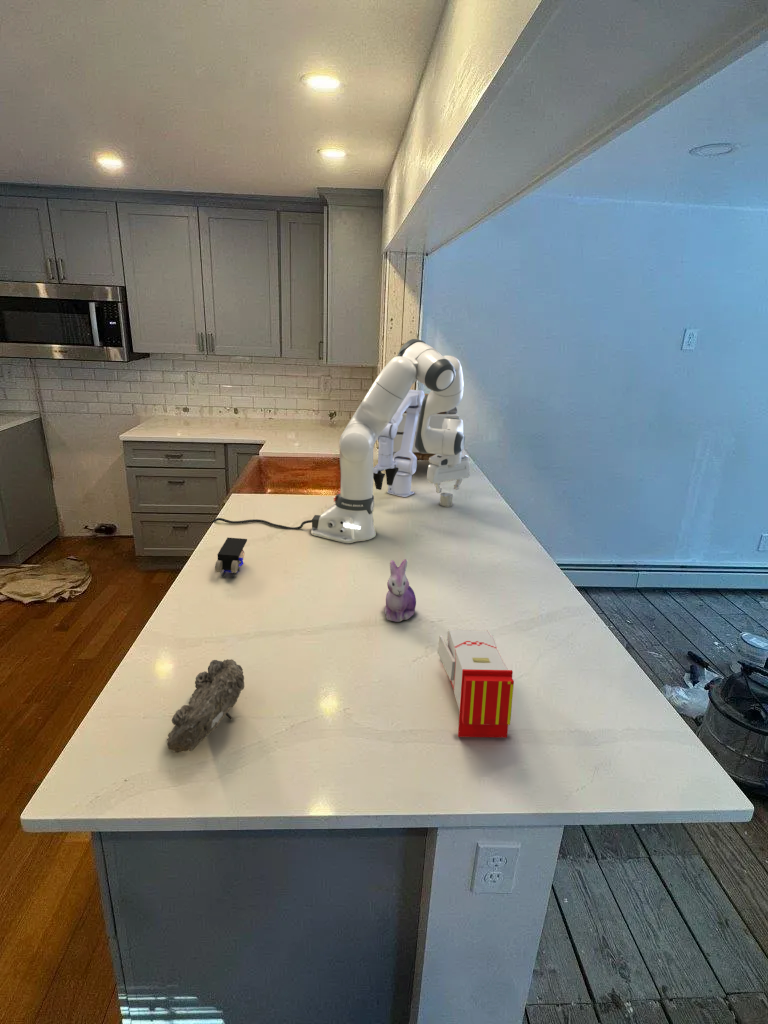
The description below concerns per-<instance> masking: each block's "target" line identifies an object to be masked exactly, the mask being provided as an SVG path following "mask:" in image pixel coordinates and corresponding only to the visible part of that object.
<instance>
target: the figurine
mask: <svg viewBox="0 0 768 1024" xmlns="http://www.w3.org/2000/svg"><path fill="white" fill-rule="evenodd" d="M407 567H408V559H406V558H404V559H403V560H402V561H401V563H400V565H399V566H398V565H397V563H396V562H395V561H394V560H393V559H391V560H390V561H389V570H390V576H389V578H388V579H387V589H388V591H387V592H386V594H385V595H386V596H385V607H384V615H385V616H386V620H387V621H391V622H395V623H400V622H402V621H406V620H409V619H410V618H411V617H413V616H414V615H415V610H416V606H417V597H416V593H415V591H414V590H413V587H411V586H410V582H409V579H408V577H407V574H406V571H407Z"/></svg>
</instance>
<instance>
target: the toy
mask: <svg viewBox="0 0 768 1024" xmlns="http://www.w3.org/2000/svg"><path fill="white" fill-rule="evenodd" d="M446 640H447V643H446V641H445V639H444V636H443V635H442V634H439V637H438V646H437V656H438V657H439V659H440V661H441V663H442V666H443V668H444V670H445V672H446V674H447V677H448V679H449V681H450V684H451V687H452V690H453V693H454V697H455V701H456V705H457V708H458V711H459V714H458V715H459V716H458V730H457V731H458V732H457V737H458V738H508V731H509V726H510V725H511V717H512V707H513V697H514V696H513V695H514V684H515V680H514V679H513V673H514V671H513V670H512V669H508V667H507V665H506V662H505V661H504V659H503V658H502V655H501V653H500V651H499V649H498V647H497V643H496V639H495V637H494V635H493V634H491V632H490V631H489V629H467V628H466V629H465V628H463V629H461V628H460V629H459V628H448V630H447V639H446Z"/></svg>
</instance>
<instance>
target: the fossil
mask: <svg viewBox="0 0 768 1024" xmlns="http://www.w3.org/2000/svg"><path fill="white" fill-rule="evenodd" d="M243 670H244V669H243V667H242V665H240V664H237V662H236V661H235V660H234V659H232V658H231V659H227V658H226V659H224V660H223V661H222V660H217V659H212V660H211V661H210V663H209V665H208V666H207V671H201V672H199V673H198V674H197V675H196V676H195V680H194V684H195V685H194V687H195V689H194V690H193V693H192V694H191V697H190V698H189V700H188V704H184V705H182V706H181V707H180V709H177V710H176V711H175V713H174V715H173V716H172V718H171V723H172V724H173V727H172V730H171V731H170V732H168V734H167V738H166V741H167V742H166V745H167V749H168V750H169V751H173V752H174V753H176V754H178V753H182V752H188V751H189V752H192V751H193V750H195V748H196V747H197V746H199V744H200V743H201V742H203V741H204V740H205V739H206V738H207V737H208V736H209V735H210V734H211V733H212V732H214V730H215V729H217V727H218V726H219V724H220V722H221V721H222V720H223V719H224V718H225V716H226V717H227V719H229V720H233V717H232V715H230V714H229V710H230V709H231V708H234V706H235V704H236V703H237V702H238V699H239V697H240V695H241V693H242V691H243V690H245V689H244V688H245V675H244V671H243Z"/></svg>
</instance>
